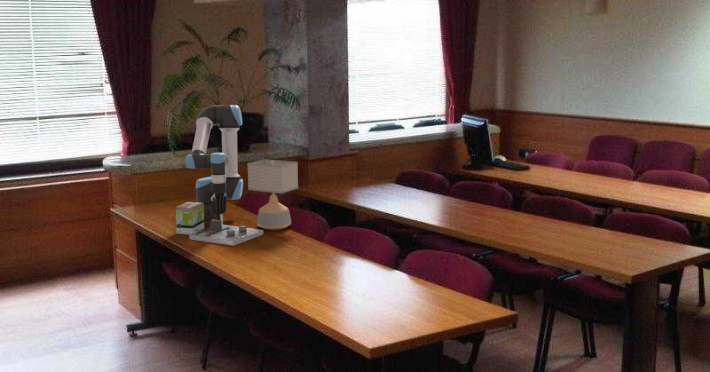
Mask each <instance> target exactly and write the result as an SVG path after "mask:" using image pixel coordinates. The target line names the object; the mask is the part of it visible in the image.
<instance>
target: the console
mask: <svg viewBox="0 0 710 372" xmlns="http://www.w3.org/2000/svg"><path fill="white" fill-rule="evenodd" d="M263 235H264V229H259V228H250V227H247V225H240V226H237V225H236V226H235V225H228V224H223V226H222V229H221V230H218V231H215V230H211V227H209V228H206V229H205V228H204V229H202V230H200V231H198V232H194V233H193V234H188V237H189V240H191V241H198V242H204V243H206V242H207V243H211V244H212V243H213V244H217V245H226V246H233V247H235V246H236V245H239V244H241V243H245V242H247V241H249V240H252V239H255V238H258V237H261V236H263Z"/></svg>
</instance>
